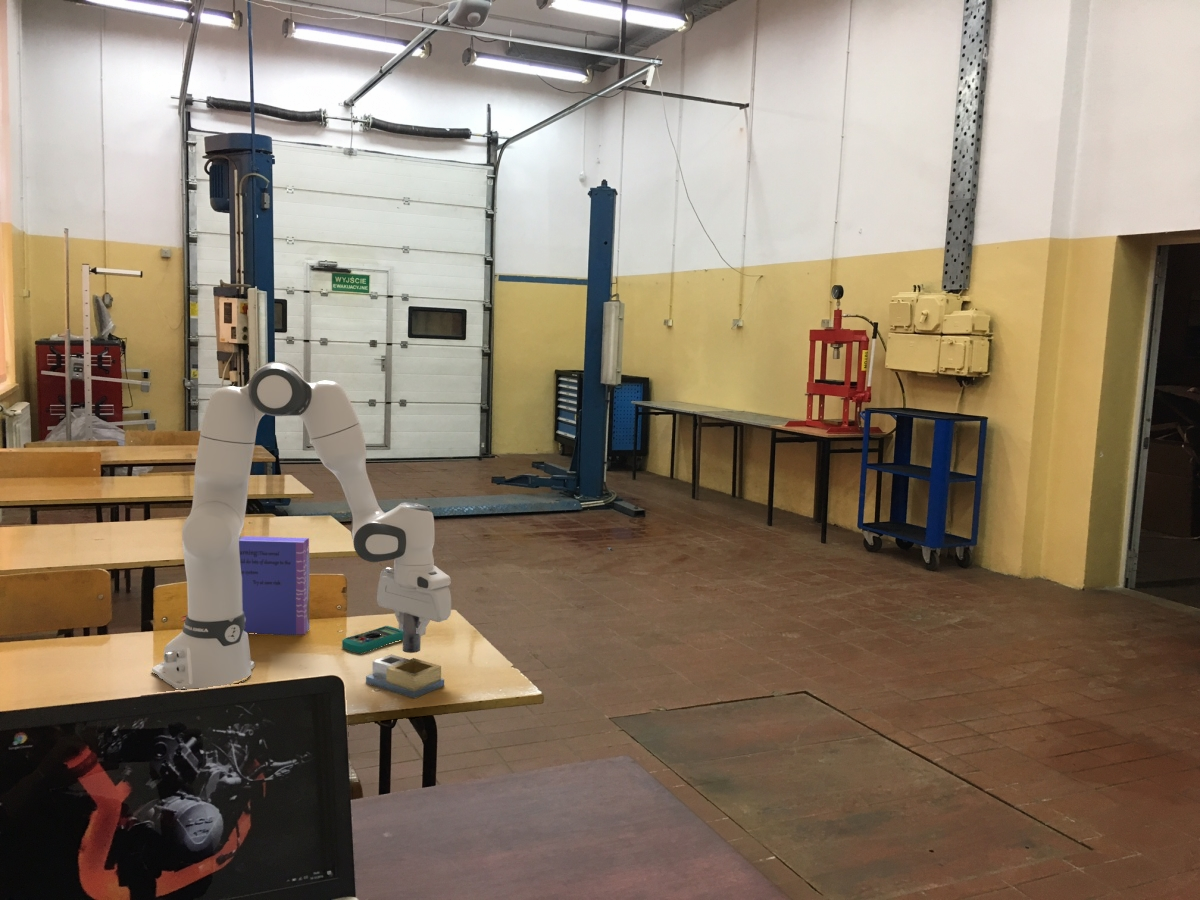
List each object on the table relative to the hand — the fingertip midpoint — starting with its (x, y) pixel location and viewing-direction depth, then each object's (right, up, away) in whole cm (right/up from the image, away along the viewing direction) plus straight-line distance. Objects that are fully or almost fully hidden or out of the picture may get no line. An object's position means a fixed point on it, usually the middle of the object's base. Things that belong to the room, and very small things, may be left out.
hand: (411, 632), depth 219 cm
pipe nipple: (0, -4, 0) cm, 4 cm away
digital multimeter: (-12, -6, +15) cm, 21 cm away
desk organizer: (+1, -9, -11) cm, 14 cm away
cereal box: (-40, -4, +22) cm, 45 cm away
